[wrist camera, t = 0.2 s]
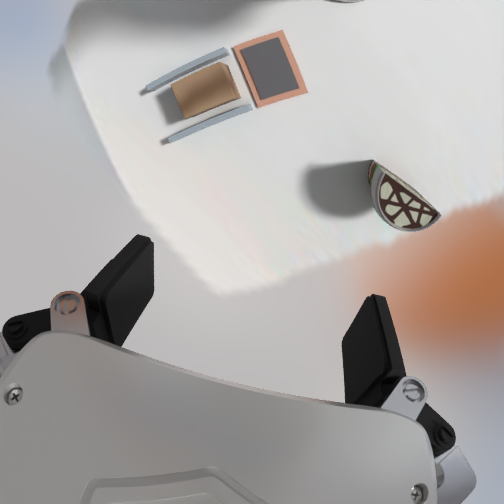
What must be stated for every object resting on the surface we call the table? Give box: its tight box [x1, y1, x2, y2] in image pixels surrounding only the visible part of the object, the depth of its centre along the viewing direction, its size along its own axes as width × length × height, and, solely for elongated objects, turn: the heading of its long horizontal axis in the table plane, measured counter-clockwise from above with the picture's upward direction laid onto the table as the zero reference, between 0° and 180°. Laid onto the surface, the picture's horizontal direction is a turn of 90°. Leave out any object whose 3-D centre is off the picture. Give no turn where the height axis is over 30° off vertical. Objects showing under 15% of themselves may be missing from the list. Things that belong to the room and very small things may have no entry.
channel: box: [146, 47, 252, 143], centre depth 39 cm, size 11×14×2 cm
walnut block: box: [171, 62, 241, 119], centre depth 38 cm, size 6×8×5 cm
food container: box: [368, 160, 442, 232], centre depth 39 cm, size 12×6×10 cm, turn 65°
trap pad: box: [233, 30, 308, 108], centre depth 36 cm, size 11×8×1 cm
